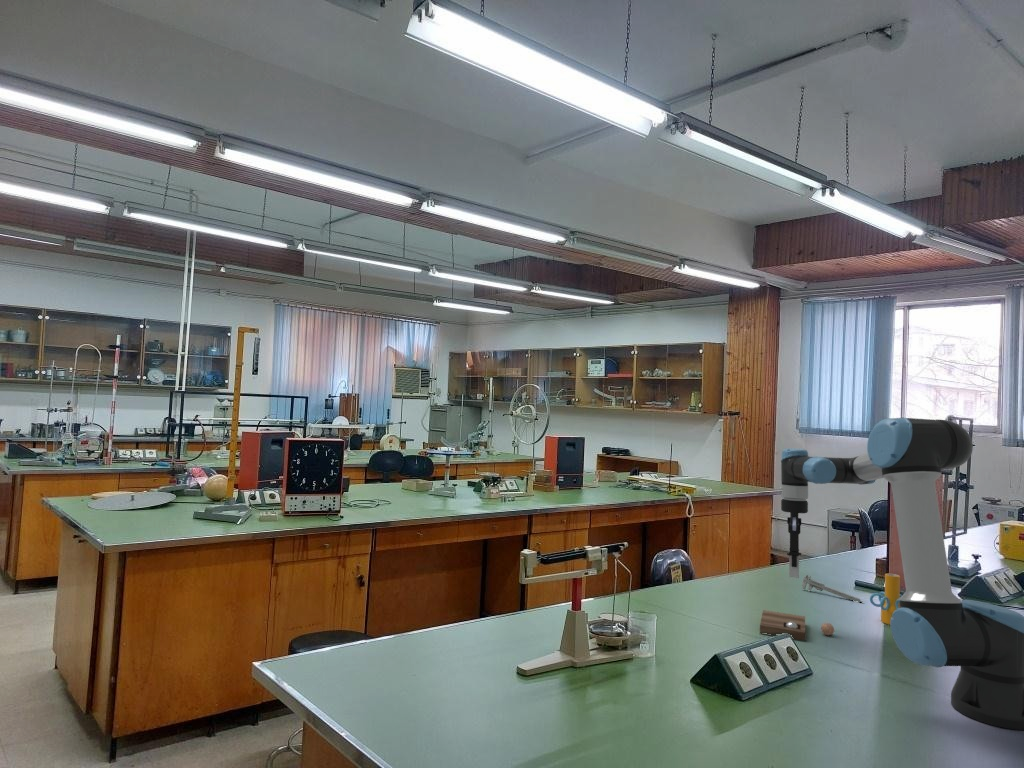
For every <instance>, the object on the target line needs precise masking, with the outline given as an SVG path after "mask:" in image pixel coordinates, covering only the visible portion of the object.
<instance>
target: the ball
mask: <svg viewBox="0 0 1024 768" xmlns="http://www.w3.org/2000/svg"><path fill="white" fill-rule="evenodd" d="M820 629H821V632H822V634H823V635H825V636H828V637H829V635H830V636H832V635H833V634H834V632H835V627H834V625H833V624H832V623H829V622H824V623H822V624H821V626H820Z"/></svg>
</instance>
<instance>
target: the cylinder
mask: <svg viewBox="0 0 1024 768" xmlns="http://www.w3.org/2000/svg"><path fill="white" fill-rule="evenodd" d="M900 580H901V576H900V575H899V574H895V573H889V572H888V573H885V574H884V591H880V592H879V593H877V592H874V593H871V595H870V596H869V601H870V603H871V605H873V607H877V608H880V622H881V623H883V624H885V625H888V626H890V621H891V617H893V616H892V614H893V612H894V611H895V610H897V609H899V608H901V607H900V599H899V598H900V597H901V596H902V595H903V594H901V593H900V591H901V589H900V588H901V586H900V585H901V581H900ZM876 596H877V597H878V601H879V603H875V602H874V599H873V598H874V597H876Z"/></svg>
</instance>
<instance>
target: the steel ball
mask: <svg viewBox="0 0 1024 768" xmlns="http://www.w3.org/2000/svg"><path fill="white" fill-rule="evenodd" d="M785 627H789V628H795V629H798V626H797V624H796V623H794V622H787V623H786V625H785Z"/></svg>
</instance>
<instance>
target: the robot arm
mask: <svg viewBox="0 0 1024 768" xmlns="http://www.w3.org/2000/svg"><path fill="white" fill-rule="evenodd" d="M973 443H974V442H973V440H972V437H971V435H970V434H969V432H968V431H967V429H965V428H964V427H963V426H962V425H959V424H958V423H956V422H954V421H951V420H947V419H929V418H928V419H927V418H913V417H891V418H888V417H887V418H885V419H881V420H880V421H878V422H877V423H876V424H875V425H874V427H873V428H872V430H871V431H870V433H869V435H868V439H867V445H866V447H867V448H866V451H867V452H866V453H865V454H861V455H858V456H854V457H827V456H825V457H823V456H809V452H808V450H807V449H800V448H798V449H797V448H784V449H783V450H782V452H781V460H780V463H781V465H780V466H781V469H780V470H781V475H780V477H781V478H780V480H781V486H780V487H779V488H778V490H779V491H781V497H782V499H781V500H780V502H781V503H780V509H781V511H782V512H785V513H790V517H787V518H786V519H787V520H786V521H787V532H788V533H789V552H787V553H786V555H787V556H789V557H788V558H789V559H788V560H789V561H788V562H789V563H788V568H789V569H788V577H789V578H792V579H793V578H794V579H799V578H800V556H802V553H801V552H799V551H800V549H799V546H800V543H799V541H800V540H799V539H800V538H799V537H800V536H799V535H800V534H801V526H802V517H799V514H808V513H809V502H808V501H807V500H808V499H809V483H813V484H815V485H819V484H820V485H823V484H825V485H826V484H848V485H849V484H851V485H852V484H853V485H871V484H874V483H876V480H879V479H884V480H886V481H887V482H888V483H890V485H891V491H892V492H891V493H892V499H893V500H892V501H893V506H894V507H893V508H894V513H895V522H896V526H897V536H898V542H899V549H900V550H899V551H900V557H901V564H902V571H903V578H904V585H905V592H904V593H903V594H902V596H901V597H900V598H899V599H900V607H901V608H899V609H897V610H895V611H894V612H893V614H892V616H893V617H891V621H890V625H889V626H890V631H891V635H892V637H893V640H894V642H895V644H896V646H897V647H898V649H899V651H900V652H901V653H902V654H903V655H904V656H905V658H906V659H908V660H909V661H911V662H912V663H914V664H916V665H918V666H923V667H925V666H926V667H933V668H941V667H960V671H959V673H958V676H957V678H956V680H955V683H954V685H953V687H952V689H951V692H950V705H951V706H952V708H954V709H955V710H956V711H957V712H959V713H960V712H961V713H960V714H962V715H964V716H966V717H968V718H971V719H973V720H976V721H978V722H981V723H983V724H987V725H991V726H995V727H999V728H1003V729H1008V730H1009V729H1010V730H1016V731H1018V730H1019V731H1024V615H1022V613H1020V612H1017V611H1015V610H1013V609H1009V608H1007V607H1004V606H1000V605H995V604H992V603H988V602H983V601H978V600H974V599H973V600H972V599H963V600H961V599H960V598H959V597H958V596H956V595H955V593H953V590H952V583H951V577H950V576H951V575H950V569H949V564H948V558H947V551H946V545H945V540H944V533H943V526H942V520H941V513H940V509H939V500H938V495H937V489H936V488H937V487H936V481H937V480H938V479H939V478H940V477H941V476H942V470H947V469H948V470H949V469H955V468H959V467H961V466H963V465H964V464H965V463H966V462H968V461H969V459H970V458H971V456H972V454H973V450H974V444H973Z"/></svg>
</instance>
